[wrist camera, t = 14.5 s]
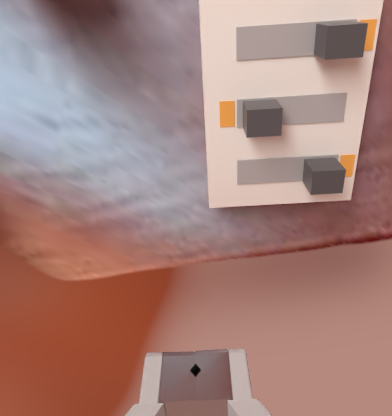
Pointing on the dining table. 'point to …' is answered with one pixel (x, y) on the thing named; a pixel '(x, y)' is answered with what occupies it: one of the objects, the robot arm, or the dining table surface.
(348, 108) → the switch panel
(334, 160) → the switch tab
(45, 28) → the dining table surface
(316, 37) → the switch tab
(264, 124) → the switch tab
